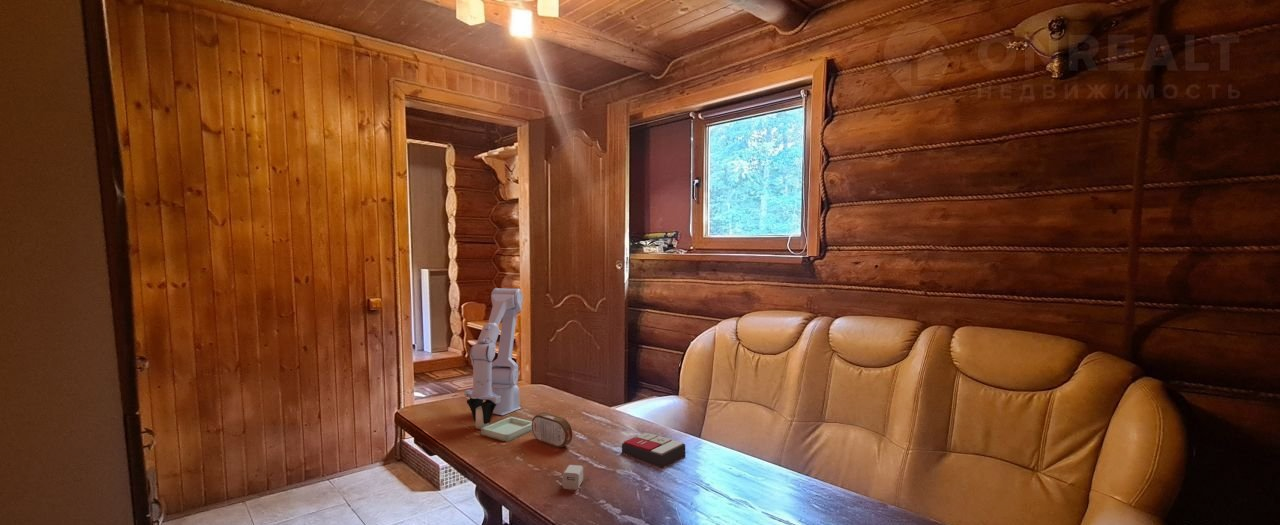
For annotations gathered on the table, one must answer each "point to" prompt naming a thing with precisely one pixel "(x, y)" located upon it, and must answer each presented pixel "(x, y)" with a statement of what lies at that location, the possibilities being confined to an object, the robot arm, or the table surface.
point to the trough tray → (507, 429)
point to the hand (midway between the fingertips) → (482, 421)
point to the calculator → (654, 449)
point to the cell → (480, 418)
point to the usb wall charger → (573, 477)
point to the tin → (552, 429)
